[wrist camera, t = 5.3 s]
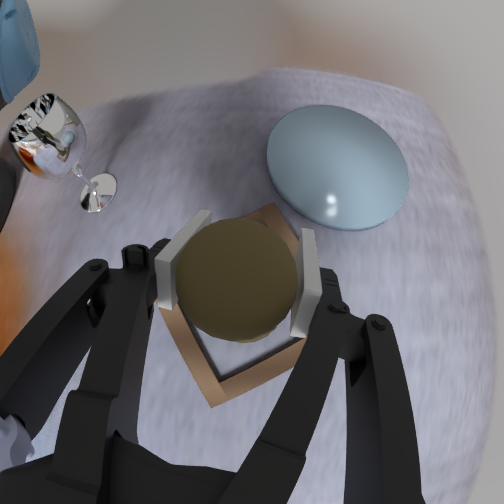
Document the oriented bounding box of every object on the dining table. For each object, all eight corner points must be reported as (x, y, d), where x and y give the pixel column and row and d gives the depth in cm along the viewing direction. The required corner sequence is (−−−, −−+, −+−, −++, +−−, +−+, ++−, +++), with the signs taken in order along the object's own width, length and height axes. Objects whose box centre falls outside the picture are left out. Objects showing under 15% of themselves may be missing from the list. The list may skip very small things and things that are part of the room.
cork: (255, 250, 22) (257, 171, 11) (299, 314, 20) (346, 292, 10) (190, 291, 21) (130, 247, 10) (231, 358, 19) (207, 385, 9)
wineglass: (71, 222, 23) (-7, 160, 11) (81, 174, 24) (21, 103, 13) (118, 214, 23) (44, 134, 11) (126, 163, 24) (72, 77, 13)
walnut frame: (144, 271, 21) (142, 269, 21) (273, 205, 23) (273, 202, 22) (212, 406, 18) (211, 408, 18) (349, 331, 20) (351, 330, 19)
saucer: (240, 137, 25) (239, 129, 24) (347, 101, 27) (349, 94, 26) (321, 260, 21) (325, 255, 20) (426, 195, 23) (432, 190, 22)
